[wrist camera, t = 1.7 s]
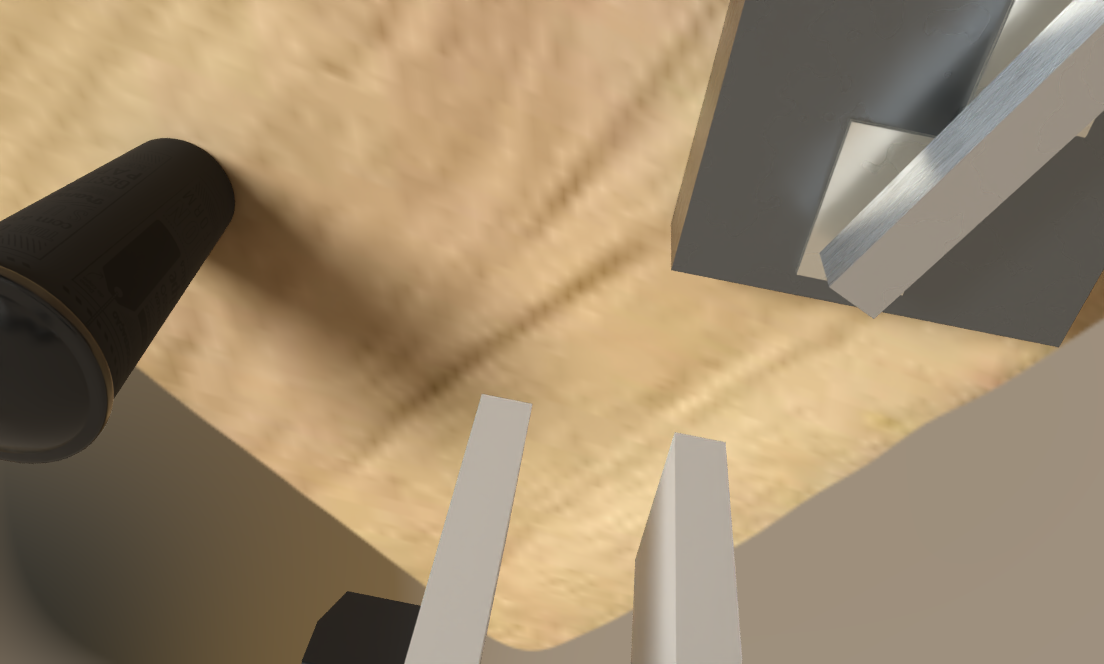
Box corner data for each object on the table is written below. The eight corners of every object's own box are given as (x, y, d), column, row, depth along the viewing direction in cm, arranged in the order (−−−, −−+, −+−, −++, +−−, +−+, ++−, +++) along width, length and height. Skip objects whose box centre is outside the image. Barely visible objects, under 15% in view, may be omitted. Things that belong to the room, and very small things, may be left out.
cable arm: (1341, -303, 23) (1417, -307, 21) (1419, -218, 24) (1500, -213, 21) (805, 241, 33) (816, 280, 30) (873, 289, 33) (888, 331, 31)
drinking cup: (108, 72, 38) (-343, 343, 21) (286, 153, 39) (-7, 472, 22) (81, 223, 42) (-315, 552, 25) (243, 293, 43) (-32, 652, 26)
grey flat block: (829, -372, 27) (856, -391, 23) (1324, -274, 27) (1436, -275, 23) (671, 223, 38) (671, 280, 34) (1025, 293, 38) (1066, 359, 34)
